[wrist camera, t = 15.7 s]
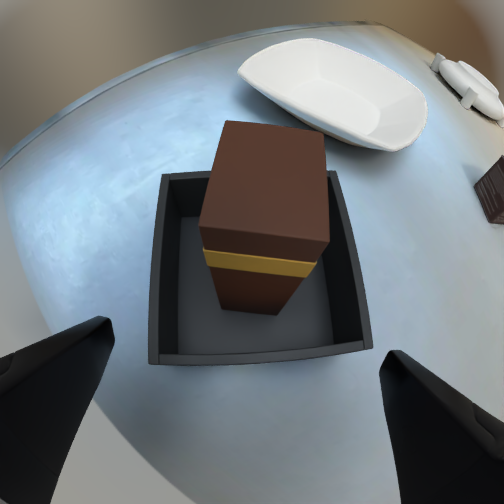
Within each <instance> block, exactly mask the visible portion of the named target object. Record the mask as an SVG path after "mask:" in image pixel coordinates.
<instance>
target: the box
mask: <svg viewBox="0 0 504 504" xmlns="http://www.w3.org/2000/svg"><path fill="white" fill-rule="evenodd" d="M474 188H475V190H476V192H477V194H478V196H479V198H480V201H481V203H482V205H483V208H484V211H485V213H486V217H487V219H488V221H489V223H497V224H504V156H503V155H502V156H501V157H500V159H499V160H498V161H497V162H496V163H495V164H494V165H493V166H492V167H491V168H490V169H489V170H488V171H487V172H486V173H485V175H484V176H483V177H482V178H481V179H480V180H479V181H478V182H477V183H476V184H475V185H474Z"/></svg>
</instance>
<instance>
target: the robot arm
mask: <svg viewBox="0 0 504 504" xmlns="http://www.w3.org/2000/svg"><path fill="white" fill-rule="evenodd" d="M114 343H115V337H114V332H113V327H112V323H111V320H110V319H109V318H107V317H103V316H97V317H94V318H92V319H90V320H87V321H85V322H83V323H80V324H78V325H76V326H73V327H71V328H69V329H66V330H64V331H62V332H59V333H57V334H55V335H53V336H50V337H48V338H46V339H43V340H41V341H39V342H36V343H34V344H32V345H29V346H27V347H25V348H23V349H20V350H18V351H16V352H15V353H11V354H9V355H6V356H4V357H2V358H0V504H50V502H51V499H52V496H53V493H54V490H55V487H56V485H57V481H58V478H59V476H60V473H61V470H62V468H63V465H64V462H65V460H66V457H67V455H68V452H69V450H70V447H71V445H72V442H73V440H74V438H75V435H76V433H77V431H78V428H79V426H80V424H81V421H82V419H83V417H84V415H85V413H86V410H87V408H88V406H89V404H90V402H91V400H92V398H93V395H94V393H95V391H96V389H97V387H98V385H99V383H100V381H101V378H102V376H103V373H104V370H105V367H106V365H107V362H108V359H109V357H110V354H111V351H112V349H113V346H114ZM379 377H380V383H381V390H382V398H383V405H384V412H385V417H386V421H387V426H388V430H389V435H390V439H391V444H392V449H393V455H394V460H395V465H396V471H397V477H398V484H399V490H400V498H401V504H504V423H503V422H502V421H500V420H498V419H497V418H495V417H494V416H492V415H491V414H489V413H488V412H486V411H485V410H483V409H482V408H480V407H479V406H478V405H476V404H475V403H472V401H471V400H469V399H468V398H467V397H465V396H464V395H463V394H461V393H460V392H458V391H457V390H456V389H454V388H453V387H451V386H450V385H449V384H447V383H446V382H445V381H443V380H442V379H440V378H439V377H438V376H436V375H435V374H433V373H432V372H431V371H429V370H428V369H427V368H425V367H424V366H422V365H421V364H420V363H418V362H417V361H415V360H414V359H413V358H411V357H410V356H408V355H407V354H406V353H404V352H403V351H401V350H391V351H389V352H388V353H387V355H386V357H385V359H384V361H383V363H382V365H381V367H380V370H379Z"/></svg>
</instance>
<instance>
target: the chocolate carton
mask: <svg viewBox="0 0 504 504" xmlns="http://www.w3.org/2000/svg"><path fill="white" fill-rule="evenodd" d="M198 227H199V231H200V235H201V239H202V243H203V252H204V256H205V259H206V263H207V265H208V266H209V268H210V272H211V276H212V279H213V283H214V286H215V290H216V293H217V296H218V300H219V303H220V307H221V309H223V310H231V311H239V312H247V313H255V314H264V315H274V316H277V315H278V314H279V313H280V311H281V310H282V308H283V307H284V306H285V304H286V303H287V302H288V300H289V299H290V298H291V296H292V295H293V294H294V292H295V291H296V289H297V288H298V287H299V285H300V284H301V282H302V281H303V280H304V278H306V277H307V276H308V275H309V274H310V272H311V271H312V269H313V268H314V267H315V265H316V263H317V260H318V258H319V257H320V255H321V254H322V252H323V251H324V249H325V248H326V246H327V245H328V243H329V242H330V233H329V203H328V184H327V169H326V156H325V145H324V135H323V133H321V132H316V131H310V130H304V129H298V128H292V127H285V126H278V125H270V124H261V123H252V122H241V121H228V120H226V121H225V124H224V127H223V130H222V134H221V137H220V141H219V144H218V148H217V152H216V155H215V159H214V163H213V166H212V170H211V174H210V178H209V182H208V186H207V190H206V194H205V198H204V202H203V206H202V210H201V214H200V219H199V223H198Z"/></svg>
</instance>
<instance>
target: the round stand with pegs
mask: <svg viewBox="0 0 504 504" xmlns="http://www.w3.org/2000/svg"><path fill="white" fill-rule="evenodd" d="M430 68H431V69H432V70H433V71H435V72H437V73H439V71H440V73H441V75H442V76H443V78H444V79H445V80H446V81H447V82H448V83H449V85H451V86H452V87H453V88H454V89H455V90H456V91H457V92H458V93H459V94H460V95H461V96H462V97H463V98H462V100H461V102H460V103H461V105H462V106H463V107H465V108H466V109H469V108H470V107H471V105H473V106H474V107H475V108H477V109H478V110H479V111H481V112H482V113H484V114H485V115H487V116H489V117H490V118H492V119H495V120H496V122H497V123H498V125H499V126H500V127H501V128H503V127H504V107H503V105H502V103H501V101H500V100H499V98H498V95H499V93H498V91H497V89H496V88H495V87H494V86H493V85H492V84H491V82H489V81H488V80H487V79H486V78H485V77H484V76H483V75H482V74H481V73H479V72H478V71H477V70H475V69H474V68H473V67H471V66H470V65H468V64H466V63H465V62H462V61H459V62H458V63H455V62H453V61H450V60H445V57H444V56H443V55H441V54H439V53H437V54H436V56H435V58H434V60H433V63H432V65H431V67H430Z"/></svg>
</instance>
